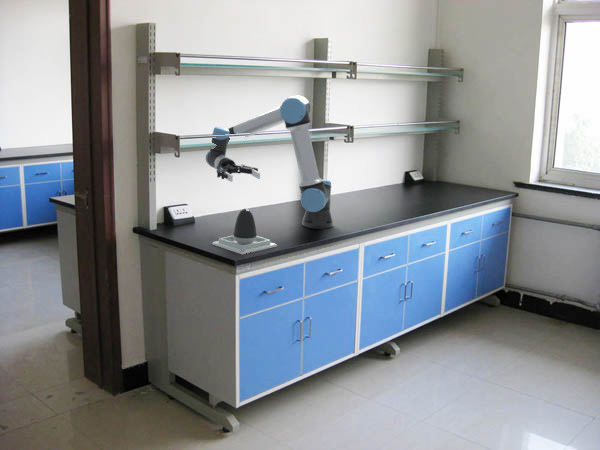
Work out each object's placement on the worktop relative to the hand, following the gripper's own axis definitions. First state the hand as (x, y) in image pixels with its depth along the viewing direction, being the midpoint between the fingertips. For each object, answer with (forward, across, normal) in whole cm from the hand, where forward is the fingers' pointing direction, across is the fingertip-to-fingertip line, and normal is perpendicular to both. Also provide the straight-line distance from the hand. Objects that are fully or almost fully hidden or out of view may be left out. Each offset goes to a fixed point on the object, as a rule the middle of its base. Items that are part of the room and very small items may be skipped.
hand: (245, 177), depth 293 cm
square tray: (+12, +6, -27) cm, 30 cm away
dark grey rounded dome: (+12, +6, -26) cm, 29 cm away
